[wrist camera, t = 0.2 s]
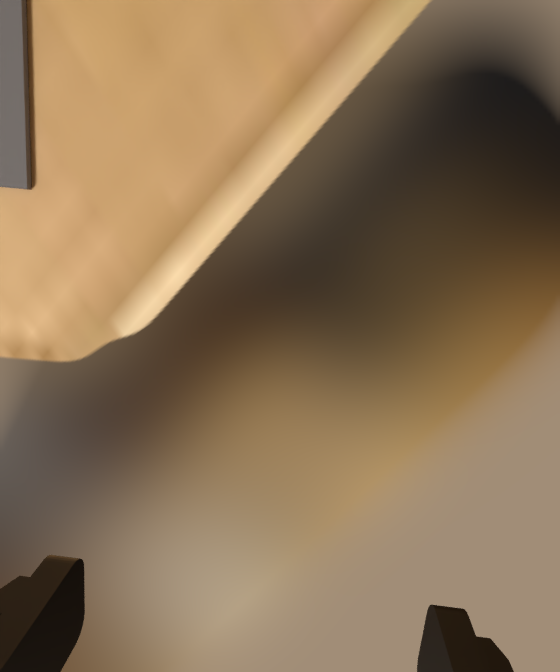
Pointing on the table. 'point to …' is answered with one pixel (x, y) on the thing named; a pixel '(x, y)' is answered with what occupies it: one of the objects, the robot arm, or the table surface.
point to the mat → (14, 96)
